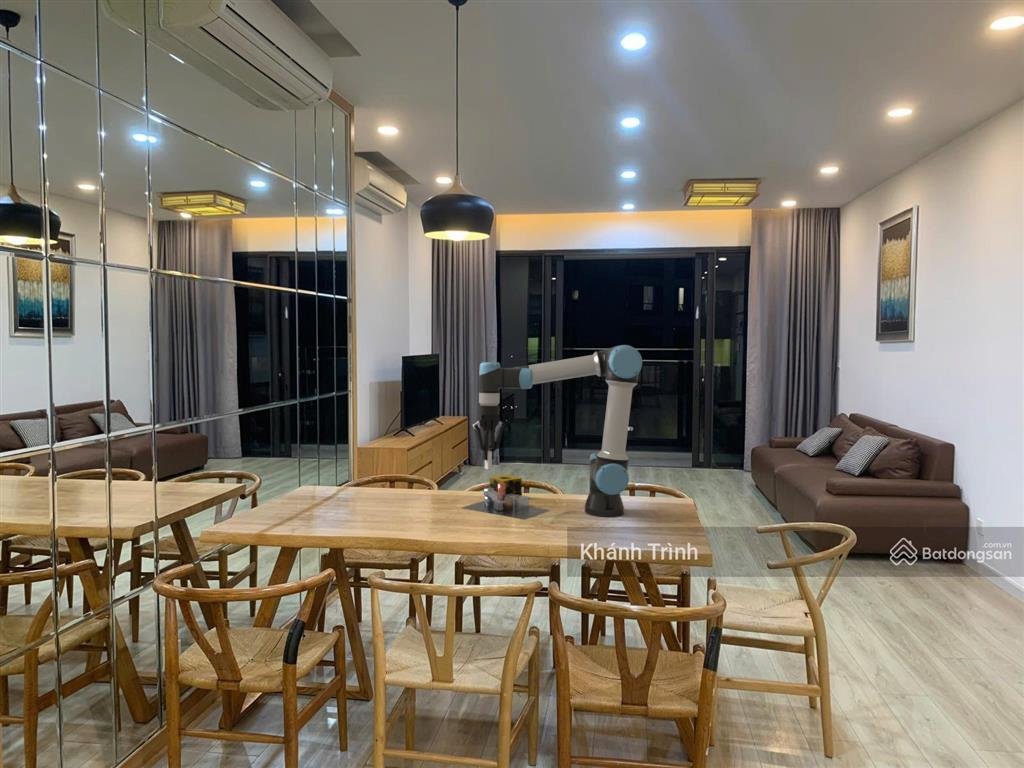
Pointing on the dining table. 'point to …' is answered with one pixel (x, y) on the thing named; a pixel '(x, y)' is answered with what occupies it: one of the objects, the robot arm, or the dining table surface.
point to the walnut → (508, 503)
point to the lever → (497, 495)
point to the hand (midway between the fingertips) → (488, 468)
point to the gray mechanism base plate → (518, 511)
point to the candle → (507, 484)
